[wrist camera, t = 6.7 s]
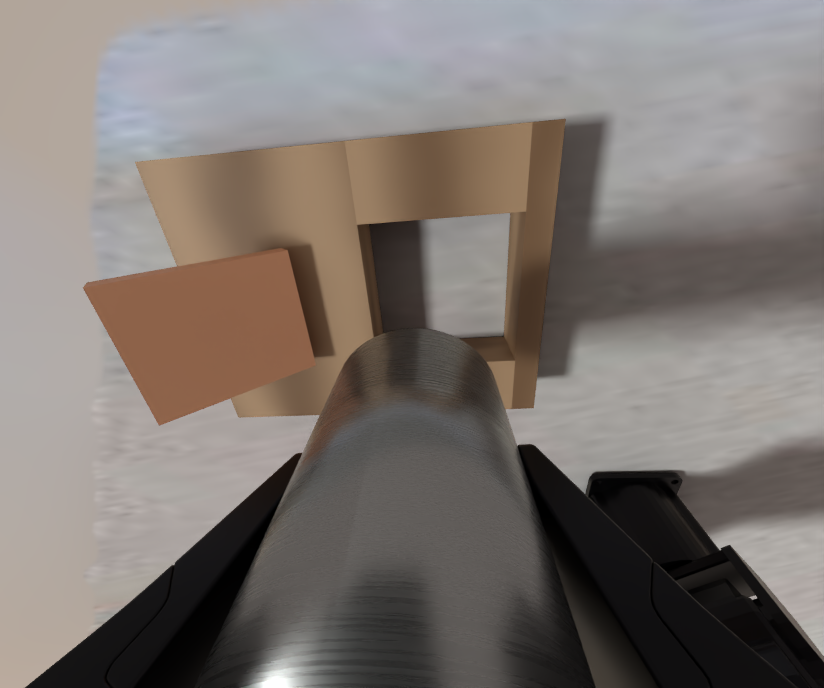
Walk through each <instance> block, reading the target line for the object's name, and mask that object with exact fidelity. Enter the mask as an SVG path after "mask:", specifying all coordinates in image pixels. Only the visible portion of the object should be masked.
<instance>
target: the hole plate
mask: <svg viewBox="0 0 824 688" xmlns="http://www.w3.org/2000/svg"><path fill="white" fill-rule="evenodd" d="M565 121H566V119H559V120H549V121H539V122H529V123H519V124H509V125H499V126H489V127H479V128H469V129H459V130H449V131H439V132H429V133H419V134H410V135H400V136H390V137H380V138H370V139H360V140H350V141H340V142H330V143H320V144H310V145H300V146H290V147H280V148H270V149H260V150H250V151H240V152H230V153H220V154H210V155H200V156H190V157H180V158H170V159H160V160H150V161H141V162H135V163H136V166H137V168H138V171H139V173H140V176H141V178H142V181H143V183H144V186H145V188H146V191H147V193H148V196H149V198H150V200H151V203H152V205H153V208H154V210H155V213H156V215H157V218H158V220H159V223H160V225H161V228H162V230H163V232H164V235H165V237H166V240H167V242H168V245H169V247H170V250H171V252H172V255H173V257H174V260H175V262H176V265H177V266H183V265H189V264H194V263H200V262H205V261H211V260H217V259H222V258H228V257H233V256H239V255H245V254H250V253H256V252H261V251H267V250H273V249H278V248H282V249H285V250H288V254H289V258H290V262H291V266H292V270H293V274H294V278H295V282H296V286H297V290H298V294H299V298H300V302H301V306H302V310H303V314H304V319H305V323H306V327H307V331H308V335H309V339H310V343H311V347H312V351H313V355H314V359H315V363H316V366H313V367H310V368H308V369H305V370H303V371H300V372H297V373H295V374H292V375H290V376H287V377H284V378H282V379H279V380H277V381H274V382H271V383H269V384H266V385H264V386H261V387H258V388H256V389H253V390H250V391H248V392H245V393H243V394H240V395H237V396H235V397H232V398H231V400H232V403H233V405H234V408H235V410H236V412H237V415H238V417H268V416H299V415H320V414H321V412H322V410H323V408H324V405H325V403H326V401H327V399H328V397H329V395H330V392H331V390H332V388H333V386H334V384H335V382H336V380H337V377H338V375H339V373H340V371H341V369H342V367H343V365H344V363H345V362H346V360H347V359H348V358H349V356H350V355H351V354H352V353H353V352H354V351H355V350H356V349H357V348H358V347H360V346H361V345H362V344H364V343H365V342H366V341H368V340H370V339H372V338H374V337H376V336H378V335H381V334H383V327H382V319H381V311H380V304H379V296H378V289H377V281H376V273H375V266H374V258H373V250H372V243H371V235H370V228H369V224H373V223H386V222H399V221H411V220H424V219H437V218H449V217H462V216H475V215H487V214H500V213H510V232H509V250H508V269H507V288H506V307H505V325H504V336H503V337H483V338H463V339H460V340H462V341H464V342H465V343H467V344H468V345H470V346H471V347H473V348H474V349H475V350H476V351H477V352H478V353H479V354H480V355H481V356H482V357H483V358H484V360H485V361H486V362H487V363H488V365H489V367H490V368H491V370H492V372H493V375H494V377H495V380H496V383H497V386H498V389H499V392H500V395H501V398H502V401H503V404H504V407H505V409H521V408H534V399H535V390H536V381H537V372H538V363H539V354H540V346H541V337H542V328H543V319H544V310H545V301H546V292H547V283H548V274H549V265H550V256H551V247H552V238H553V229H554V220H555V211H556V202H557V193H558V184H559V175H560V166H561V157H562V148H563V139H564V130H565Z"/></svg>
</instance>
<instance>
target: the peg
mask: <svg viewBox="0 0 824 688" xmlns="http://www.w3.org/2000/svg"><path fill="white" fill-rule="evenodd" d="M194 688H596V686H595V683H594V680H593V677H592V674H591V671H590V668H589V665H588V662H587V659H586V656H585V652H584V649H583V646H582V643H581V640H580V637H579V634H578V631H577V628H576V625H575V622H574V619H573V616H572V613H571V610H570V606H569V603H568V600H567V597H566V594H565V591H564V588H563V585H562V582H561V579H560V576H559V573H558V570H557V567H556V564H555V561H554V557H553V554H552V551H551V548H550V545H549V542H548V539H547V536H546V533H545V530H544V527H543V524H542V521H541V518H540V515H539V511H538V508H537V505H536V502H535V499H534V496H533V493H532V490H531V487H530V484H529V481H528V478H527V475H526V472H525V469H524V465H523V462H522V459H521V456H520V453H519V450H518V447H517V444H516V441H515V438H514V435H513V432H512V429H511V426H510V423H509V419H508V416H507V413H506V410H505V407H504V404H503V401H502V398H501V395H500V392H499V389H498V386H497V383H496V380H495V377H494V375H493V372H492V370H491V368H490V367H489V365H488V363H487V362H486V361H485V360H484V358H483V357H482V356H481V355H480V354H479V353H478V352H477V351H476V350H475V349H474V348H473V347H471V346H470V345H468V344H467V343H465V342H464V341H462V340H460V339H458V338H456V337H454V336H452V335H449V334H446V333H444V332H440V331H436V330H431V329H422V328H407V329H399V330H394V331H390V332H386V333H383V334H381V335H378V336H376V337H374V338H372V339H370V340H368V341H366V342H365V343H364V344H362V345H361V346H360V347H358V348H357V349H356V350H355V351H354V352H353V353H352V354H351V355H350V356H349V358H348V359H347V360H346V362H345V363H344V365H343V367H342V369H341V371H340V373H339V375H338V377H337V380H336V382H335V384H334V386H333V388H332V390H331V392H330V395H329V397H328V399H327V401H326V403H325V405H324V408H323V410H322V412H321V414H320V416H319V418H318V421H317V423H316V425H315V427H314V429H313V431H312V434H311V436H310V438H309V440H308V442H307V444H306V447H305V449H304V451H303V453H302V455H301V457H300V460H299V462H298V464H297V466H296V468H295V470H294V473H293V475H292V477H291V479H290V481H289V483H288V486H287V488H286V490H285V492H284V494H283V496H282V498H281V501H280V503H279V505H278V507H277V509H276V511H275V514H274V516H273V518H272V520H271V522H270V524H269V527H268V529H267V531H266V533H265V535H264V537H263V540H262V542H261V544H260V546H259V548H258V550H257V553H256V555H255V557H254V559H253V561H252V563H251V566H250V568H249V570H248V572H247V574H246V576H245V579H244V581H243V583H242V585H241V587H240V589H239V592H238V594H237V596H236V598H235V600H234V602H233V604H232V607H231V609H230V611H229V613H228V615H227V617H226V620H225V622H224V624H223V626H222V628H221V630H220V633H219V635H218V637H217V639H216V641H215V643H214V646H213V648H212V650H211V652H210V654H209V656H208V659H207V661H206V663H205V665H204V667H203V669H202V672H201V674H200V676H199V678H198V680H197V682H196V685H195V687H194Z"/></svg>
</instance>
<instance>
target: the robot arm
mask: <svg viewBox="0 0 824 688" xmlns="http://www.w3.org/2000/svg"><path fill="white" fill-rule="evenodd" d="M517 447H518V450H519V453H520V456H521V459H522V462H523V465H524V469H525V472H526V475H527V478H528V481H529V484H530V487H531V490H532V493H533V496H534V499H535V502H536V505H537V508H538V511H539V515H540V518H541V521H542V524H543V527H544V530H545V533H546V536H547V539H548V542H549V545H550V548H551V551H552V554H553V557H554V561H555V564H556V567H557V570H558V573H559V576H560V579H561V582H562V585H563V588H564V591H565V594H566V597H567V600H568V603H569V606H570V610H571V613H572V616H573V619H574V622H575V625H576V628H577V631H578V634H579V637H580V640H581V643H582V646H583V649H584V652H585V656H586V659H587V662H588V665H589V668H590V671H591V674H592V677H593V680H594V683H595V686H596V688H824V656H823V655H822V654H821V652H820V651H819V650H818V648H817V647H816V646H815V645H814V643H813V642H812V641H811V639H810V638H809V637H808V636H807V634H806V633H805V632H804V630H803V629H802V628H801V626H800V625H799V624H798V623H797V621H796V620H795V619H794V618H793V617H792V615H791V614H790V613H789V612H788V611H787V609H786V608H785V607H784V606H783V605H782V603H781V602H780V601H779V600H778V599H777V597H776V596H775V595H774V594H773V593H772V591H771V590H770V589H769V588H768V587H767V585H766V584H765V583H764V582H763V581H762V579H761V578H760V577H759V576H758V575H757V574H756V573H755V572H754V571H753V570H752V569H751V567H750V566H749V565H748V564H747V563H746V562H745V561H744V560H743V559H742V558H741V557H740V555H739V554H738V553H737V552H736V551H735V550H734V549H733V548H732V547H731V546H730V545H728V546H725V547H723V548H721V550H719V549H718V548H717V546H716V545H715V544H714V542H713V541H712V540H711V539H710V537H709V536H708V535H707V533H706V532H705V531H704V530H703V528H702V527H701V526H700V524H699V523H698V522H697V521H696V519H695V518H694V517H693V515H692V514H691V513H690V512H689V510H688V509H687V508H686V506H685V505H684V504H683V503H682V501H681V500H680V499H679V497H678V496H677V493H678V490H679V488H680V486H681V483H682V479H681V478H680V476H679V475H678V474H676V473H634V474H594V475H592V476H591V477H590V478H589V481H588V485H587V489H586V494H584V493H583V492H582V491H581V490H580V489H579V488H578V487H577V486H576V485H575V484H574V483H573V482H572V481H571V480H570V479H569V478H568V477H567V476H566V475H565V474H564V473H563V472H562V471H561V470H559V469H558V468H557V467H556V466H555V465H554V464H553V463H552V462H551V461H550V460H549V459H548V458H547V457H546V456H545V455H544V454H543V453H542V452H541V451H540V450H539V449H538V448H537V447H536V446H534V445H532V444H526V445H518V446H517ZM301 455H302V453H297V454H295V455H294V456H293V457H292V458H291V459H289V460H288V461H287V462H286V463H285V464H284V465H283V466H282V467H281V468H279V469H278V470H277V471H276V472H275V473H274V474H273V475H272V476H271V477H269V478H268V479H267V480H266V481H265V482H264V483H263V484H262V485H261V486H259V487H258V488H257V489H256V490H255V491H254V492H253V493H252V494H251V495H249V496H248V497H247V498H246V499H245V500H244V501H243V502H242V503H241V504H239V505H238V506H237V507H236V508H235V509H234V510H233V511H232V512H231V513H229V514H228V515H227V516H226V517H225V518H224V519H223V520H222V521H221V522H219V523H218V524H217V525H216V526H215V527H214V528H213V529H212V530H211V531H209V532H208V533H207V534H206V535H205V536H204V537H203V538H202V539H201V540H199V541H198V542H197V543H196V544H195V545H194V546H193V547H192V548H191V549H189V550H188V551H187V552H186V553H185V554H184V555H183V556H182V557H181V558H179V559H178V560H177V561H176V562H175V565H172V566H170V567H169V568H168V569H167V570H166V571H165V572H164V573H163V574H161V575H160V576H159V577H158V578H157V579H156V580H155V581H154V582H153V583H151V584H150V585H149V586H148V587H147V588H146V589H145V590H143V591H142V592H141V593H140V594H139V595H138V596H136V597H135V598H134V599H133V600H132V601H131V602H130V603H128V604H127V605H126V606H125V607H124V608H122V609H121V610H120V611H119V612H118V613H116V614H115V615H114V616H113V617H112V618H110V619H109V620H108V621H107V622H106V623H104V624H103V625H102V626H101V627H99V628H98V629H97V630H96V631H95V632H93V633H92V634H91V635H90V636H88V637H87V638H86V639H85V640H83V641H82V642H81V643H80V644H78V645H77V646H76V647H75V648H74V649H72V650H71V651H70V652H69V653H67V654H66V655H65V656H64V657H62V658H61V659H60V660H59V661H57V662H56V663H55V664H54V665H52V666H51V667H50V668H49V669H47V670H46V671H45V672H44V673H43V674H41V675H40V676H39V677H38V678H36V679H35V680H34V681H33V682H31V683H30V684H29V685H28V686H26V687H25V688H194V687H195V685H196V682H197V680H198V678H199V676H200V674H201V672H202V669H203V667H204V665H205V663H206V661H207V659H208V656H209V654H210V652H211V650H212V648H213V646H214V643H215V641H216V639H217V637H218V635H219V633H220V630H221V628H222V626H223V624H224V622H225V620H226V617H227V615H228V613H229V611H230V609H231V607H232V604H233V602H234V600H235V598H236V596H237V594H238V592H239V589H240V587H241V585H242V583H243V581H244V579H245V576H246V574H247V572H248V570H249V568H250V566H251V563H252V561H253V559H254V557H255V555H256V553H257V550H258V548H259V546H260V544H261V542H262V540H263V537H264V535H265V533H266V531H267V529H268V527H269V524H270V522H271V520H272V518H273V516H274V514H275V511H276V509H277V507H278V505H279V503H280V501H281V498H282V496H283V494H284V492H285V490H286V488H287V486H288V483H289V481H290V479H291V477H292V475H293V473H294V470H295V468H296V466H297V464H298V462H299V460H300V457H301ZM754 595H756V596H757V599H754V600H752V599H751V598H748V597H751V596H754Z"/></svg>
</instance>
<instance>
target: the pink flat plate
mask: <svg viewBox="0 0 824 688" xmlns="http://www.w3.org/2000/svg"><path fill="white" fill-rule="evenodd" d="M83 289H84V291H85V292H86V294H87V296H88V298H89V300H90V301H91V303H92V305H93V307H94V309H95V310H96V312H97V314H98V316H99V318H100V320H101V321H102V323H103V325H104V327H105V329H106V330H107V332H108V334H109V336H110V338H111V339H112V341H113V343H114V345H115V347H116V348H117V350H118V352H119V354H120V356H121V357H122V359H123V361H124V363H125V365H126V367H127V368H128V370H129V372H130V374H131V376H132V377H133V379H134V381H135V383H136V385H137V386H138V388H139V390H140V392H141V394H142V395H143V397H144V399H145V401H146V403H147V404H148V406H149V408H150V410H151V412H152V414H153V415H154V417H155V419H156V421H157V423H158V424H159V425H162V424H164V423H167V422H170V421H172V420H175V419H178V418H180V417H183V416H185V415H188V414H191V413H193V412H196V411H198V410H201V409H204V408H206V407H209V406H211V405H214V404H217V403H219V402H222V401H224V400H227V399H230V398H232V397H235V396H237V395H240V394H243V393H245V392H248V391H250V390H253V389H256V388H258V387H261V386H264V385H266V384H269V383H271V382H274V381H277V380H279V379H282V378H284V377H287V376H290V375H292V374H295V373H297V372H300V371H303V370H305V369H308V368H310V367H313V366H316V363H315V359H314V355H313V351H312V347H311V343H310V339H309V335H308V331H307V327H306V323H305V319H304V314H303V310H302V306H301V302H300V298H299V294H298V290H297V286H296V282H295V278H294V274H293V270H292V266H291V262H290V258H289V254H288V250H285V249H282V248H278V249H273V250H267V251H261V252H256V253H250V254H245V255H239V256H233V257H228V258H222V259H217V260H211V261H205V262H200V263H194V264H189V265H183V266H177V267H172V268H166V269H161V270H155V271H149V272H144V273H138V274H133V275H127V276H121V277H116V278H110V279H105V280H99V281H93V282H88V283H86V285H85V286H84V287H83Z"/></svg>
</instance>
